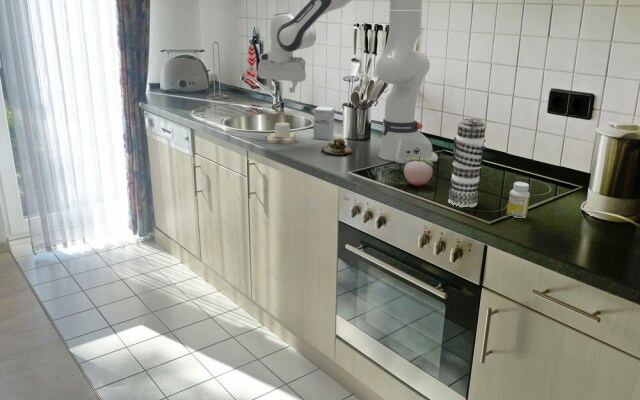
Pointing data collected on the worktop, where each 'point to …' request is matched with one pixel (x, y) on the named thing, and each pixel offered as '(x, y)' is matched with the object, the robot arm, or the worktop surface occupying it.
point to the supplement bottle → (518, 200)
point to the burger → (338, 147)
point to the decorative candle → (467, 163)
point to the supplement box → (323, 123)
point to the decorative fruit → (418, 171)
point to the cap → (282, 130)
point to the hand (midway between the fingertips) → (281, 91)
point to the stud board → (273, 139)
